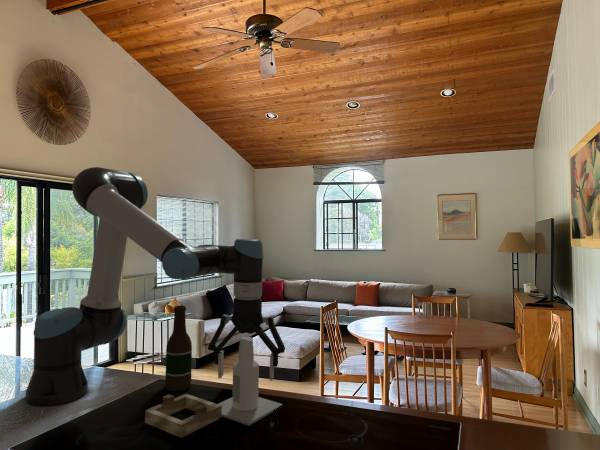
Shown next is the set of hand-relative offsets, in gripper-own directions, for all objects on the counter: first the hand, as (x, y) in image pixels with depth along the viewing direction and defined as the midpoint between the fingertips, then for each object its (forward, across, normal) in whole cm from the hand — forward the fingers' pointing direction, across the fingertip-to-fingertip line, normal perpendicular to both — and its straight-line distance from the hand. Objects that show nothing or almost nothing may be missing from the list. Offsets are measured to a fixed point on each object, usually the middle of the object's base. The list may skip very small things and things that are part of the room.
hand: (246, 377), depth 116 cm
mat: (+8, 0, 0) cm, 8 cm away
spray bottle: (+8, 0, 0) cm, 8 cm away
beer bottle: (+8, -22, +13) cm, 27 cm away
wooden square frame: (+8, -14, -8) cm, 18 cm away
